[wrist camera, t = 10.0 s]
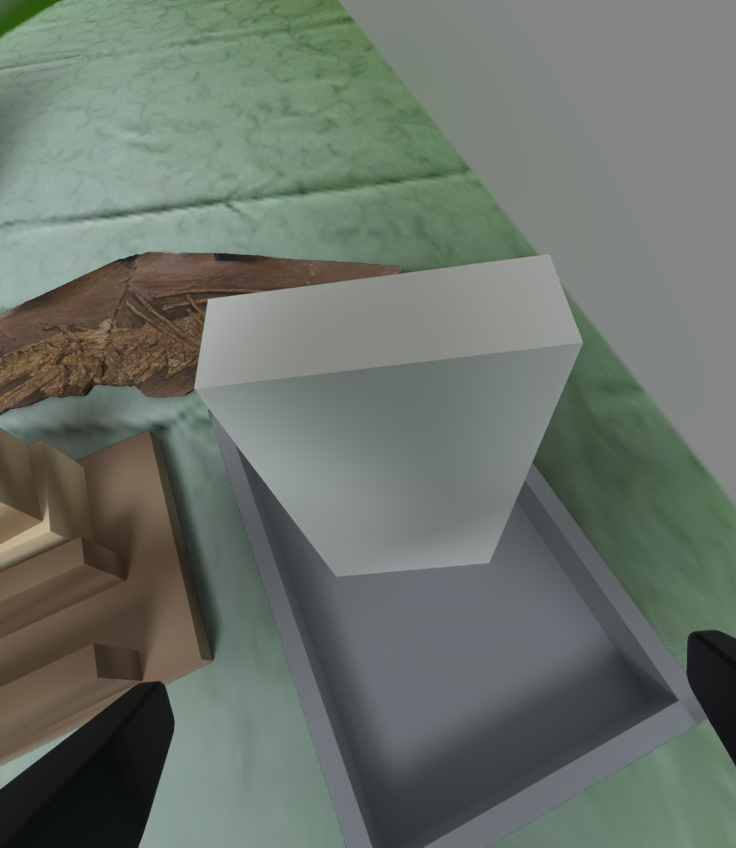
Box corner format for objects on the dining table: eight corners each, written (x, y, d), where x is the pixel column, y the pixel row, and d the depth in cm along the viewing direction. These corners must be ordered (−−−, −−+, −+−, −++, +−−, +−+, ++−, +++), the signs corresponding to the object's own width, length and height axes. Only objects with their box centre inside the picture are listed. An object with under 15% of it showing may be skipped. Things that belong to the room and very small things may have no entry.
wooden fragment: (-92, 435, 24) (-112, 425, 23) (-15, 284, 30) (-29, 271, 29) (415, 375, 22) (414, 361, 22) (393, 227, 28) (392, 211, 27)
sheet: (489, 563, 17) (583, 342, 6) (336, 576, 17) (194, 388, 7) (480, 514, 18) (549, 254, 7) (334, 528, 18) (208, 299, 8)
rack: (213, 660, 17) (165, 652, 14) (-138, 834, 15) (-277, 866, 12) (160, 440, 22) (116, 399, 19) (-108, 555, 20) (-201, 529, 17)
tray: (672, 711, 14) (715, 713, 12) (378, 882, 13) (368, 916, 11) (427, 353, 23) (427, 316, 20) (230, 439, 21) (207, 410, 19)
